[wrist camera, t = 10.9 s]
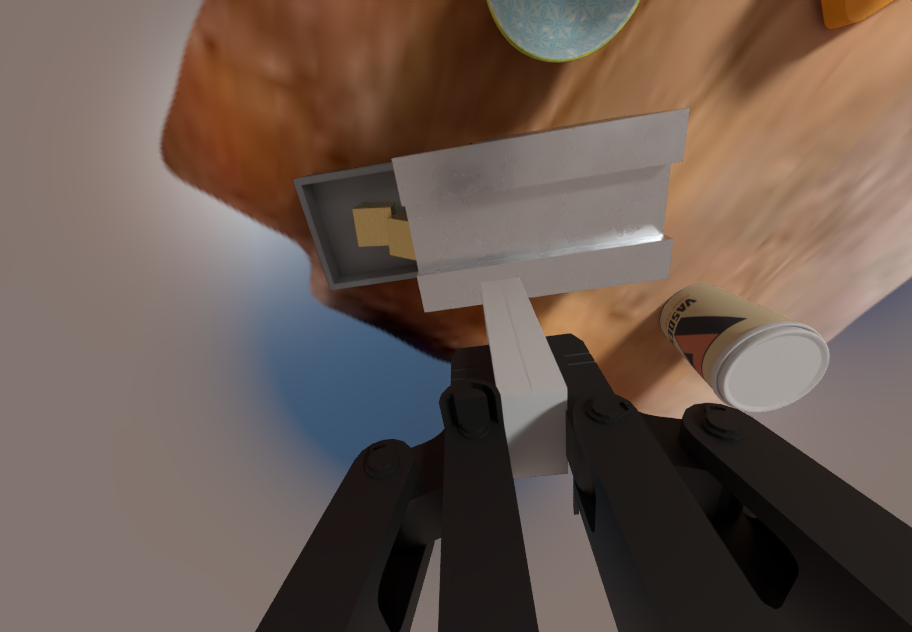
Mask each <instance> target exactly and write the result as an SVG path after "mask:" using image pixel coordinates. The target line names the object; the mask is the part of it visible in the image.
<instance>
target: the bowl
mask: <svg viewBox="0 0 912 632" xmlns="http://www.w3.org/2000/svg"><path fill="white" fill-rule="evenodd" d="M486 1H487V5H488V7H489V10H490V13H491V15H492V17H493V20H494V21H495V23H496V25H497V27H498V29H499V30H500V32H501V33H502V35H503V36H504V37H505V38H506V39H507V41H508V42H509V43H510V44H511V45H513V46H514V47H515V48H516V49H517V50H519V51H520V52H522V53H523V54H525V55H527V56H529V57H531V58H534V59H537V60H540V61H544V62H557V63H559V62H568V61H573V60H577V59H580V58H583V57H585V56H587V55H590V54H591V53H593V52H595V51H597V50H598V49H600V48H601V47H602V46H604V45H605V44H606V43H608V42H609V41H610V40H611V39H612V38H613V37H614V36H615V35H616V34H617V33H618V32H619V31H620V30H621V29H622V27H623V26H624V25H625V24H626V22H627V21H628V20H629V18H630V16H631V15H632V14H633V12H634V10H635V9H636V7H637V5H638V3H639V1H640V0H486Z"/></svg>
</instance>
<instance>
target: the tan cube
mask: <svg viewBox="0 0 912 632" xmlns="http://www.w3.org/2000/svg"><path fill="white" fill-rule="evenodd" d="M385 220H386V228H387V235H388V243H389V251H390V255H393V256H398V257H402V258H407V259H412V260H416V256H415V251H414V246H413V242H412V237H411V232H410V227H409V223H408V218H407V213H406V210H404V211H402V212H399V213H397V214H394V215H392V216H389V217H387V218H385Z"/></svg>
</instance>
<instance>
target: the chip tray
mask: <svg viewBox="0 0 912 632" xmlns="http://www.w3.org/2000/svg"><path fill="white" fill-rule="evenodd" d="M293 182H294V185H295V188H296V191H297V194H298V197H299V200H300V203H301V206H302V208H303V211H304V214H305V217H306V220H307V223H308V226H309V229H310V232H311V235H312V238H313V241H314V244H315V247H316V250H317V253H318V256H319V259H320V262H321V265H322V267H323V270H324V273H325V276H326V279H327V282H328V285H329V288H330V290H337V289H344V288H351V287H357V286H364V285H371V284H378V283H384V282H391V281H398V280H405V279H412V278H417V274H418V271H419V270H418V265H417V261H416V260H412V259H407V258H402V257H398V256H393V255H390V251H389V245H386V246H364V247H359V246H358V240H357V234H356V228H355V222H354V216H353V211H352V209H353V208H355V207H356V206H357V205H359V204H360V203H368V202H390V201H396V205H397V213H399V212H402V211H404V210H406V209H405V206H402V205H401V201H400V196H399V191H398V187H397V182H396V177H395V173H394V168H393V164H392V162H386V163H380V164H374V165H368V166H363V167H357V168H351V169H345V170H339V171H333V172H327V173H321V174H315V175H309V176H304V177H300V178H296V179H293Z"/></svg>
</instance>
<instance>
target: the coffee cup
mask: <svg viewBox="0 0 912 632" xmlns="http://www.w3.org/2000/svg"><path fill="white" fill-rule="evenodd" d="M660 325H661V329H662V331H663V332H664V334H665V335H666V337H667V338H668V339H669V340H670V341H671V343H672V344H673V345H674V346H675V347H676V348H677V350H678V351H679V352H680V353H681V354H682V355H683V356H684V358H685V359H686V360H687V361H688V362H689V363H690V364H691V366H692V367H693V368H694V369H695V370H696V371H697V372H698V373H699V375H700V376H701V377H702V378H703V379H704V380H705V381H706V382H707V384H708V385H709V386H710V387H711V388H712V389H713V391H714V392H715V394H716V395H717V396H718V398H719V399H720V400H721V401H723V402H724V403H725V404H727V405H729V406H731V407H734V408H737V409H740V410H743V411H748V412H765V411H771V410H775V409H778V408H781V407H784V406H787V405H789V404H791V403H793V402H795V401H797V400H798V399H800V398H801V397H803V396H804V395H805V394H807V393H808V392H809V391H810V390H812V389H813V387H815V386H816V385H817V383H818V382H819V381H820V380H821V378H822V377H823V375H824V373H825V371H826V369H827V367H828V363H829V349H828V347H827V345H826V343H825V341H824V340H823V338H822V336H821V335H820V334H819V333H818V332H817V331H816V330H814V329H813V328H811V327H809V326H807V325H805V324H802V323H798V322H795V321H793V320H791V319H788V318H786V317H784V316H782V315H780V314H778V313H775V312H773V311H771V310H769V309H767V308H764V307H762V306H760V305H758V304H756V303H753V302H751V301H749V300H747V299H744V298H742V297H740V296H738V295H735V294H733V293H731V292H729V291H726V290H724V289H722V288H719V287H717V286H714V285H710V284H697V285H692V286H689V287H687V288H684V289H682V290H681V291H679V292H678V293H676V294H675V295H674V296H673V297H671V298H670V300H669V301H668V302H667V303H666V305H665V306H664V308H663V310H662V313H661V317H660Z"/></svg>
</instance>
